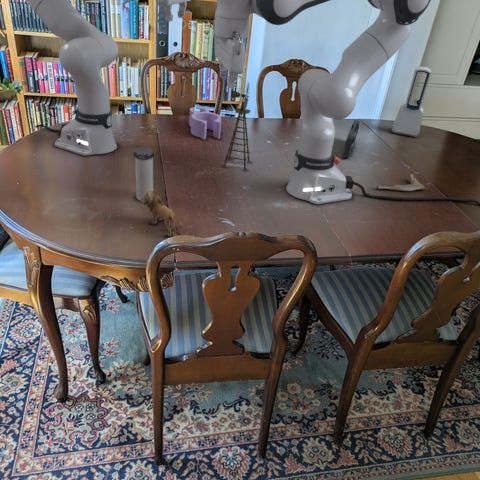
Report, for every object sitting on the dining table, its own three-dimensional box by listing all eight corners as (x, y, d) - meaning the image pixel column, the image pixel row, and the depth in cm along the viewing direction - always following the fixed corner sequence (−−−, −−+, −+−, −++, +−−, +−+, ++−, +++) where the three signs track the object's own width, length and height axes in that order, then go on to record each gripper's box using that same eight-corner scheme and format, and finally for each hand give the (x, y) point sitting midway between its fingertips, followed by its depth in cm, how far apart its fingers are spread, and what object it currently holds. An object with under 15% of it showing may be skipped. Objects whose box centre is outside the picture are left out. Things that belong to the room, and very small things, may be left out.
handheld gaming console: (349, 160, 187) (354, 136, 182) (342, 158, 188) (347, 134, 183) (355, 142, 206) (361, 119, 201) (349, 140, 207) (354, 118, 201)
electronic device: (418, 133, 224) (438, 69, 207) (417, 138, 218) (438, 72, 201) (391, 128, 226) (409, 64, 210) (390, 133, 220) (409, 67, 204)
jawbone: (429, 189, 172) (431, 184, 171) (394, 201, 161) (396, 196, 160) (410, 177, 177) (412, 172, 176) (375, 189, 167) (376, 184, 165)
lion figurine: (138, 219, 134) (138, 191, 130) (153, 213, 138) (152, 186, 133) (173, 240, 127) (174, 211, 122) (187, 233, 131) (188, 205, 126)
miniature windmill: (245, 170, 170) (254, 87, 153) (222, 166, 171) (229, 83, 154) (250, 161, 177) (258, 80, 161) (228, 157, 178) (235, 77, 162)
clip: (182, 123, 206) (183, 107, 202) (209, 122, 210) (210, 106, 207) (197, 140, 191) (197, 123, 187) (225, 138, 195) (226, 122, 191)
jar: (138, 192, 148) (137, 147, 140) (154, 194, 148) (154, 149, 140) (134, 200, 144) (133, 154, 136) (151, 201, 144) (150, 156, 136)
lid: (136, 151, 141) (136, 145, 140) (155, 153, 141) (155, 148, 140) (131, 158, 136) (131, 153, 135) (151, 160, 136) (151, 155, 135)
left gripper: (179, -35, 146) (178, 14, 153) (151, -33, 129) (151, 21, 136) (198, -32, 144) (196, 17, 152) (172, -31, 128) (171, 24, 135)
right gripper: (253, 37, 115) (247, 93, 122) (233, 22, 131) (229, 73, 139) (228, 35, 113) (223, 93, 121) (211, 21, 130) (208, 72, 137)
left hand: (175, 19), depth 144 cm, fingers open, 8 cm apart
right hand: (226, 82), depth 130 cm, fingers open, 8 cm apart
